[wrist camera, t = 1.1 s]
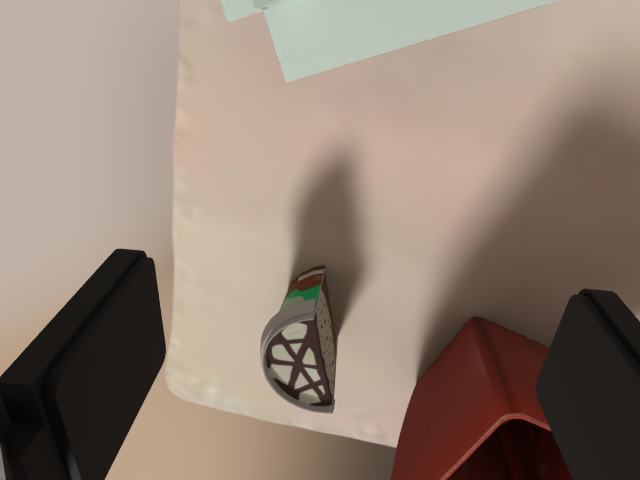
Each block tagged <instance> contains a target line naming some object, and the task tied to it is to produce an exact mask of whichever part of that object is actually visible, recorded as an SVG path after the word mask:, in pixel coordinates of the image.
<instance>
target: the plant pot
mask: <svg viewBox="0 0 640 480" xmlns="http://www.w3.org/2000/svg"><path fill="white" fill-rule="evenodd" d="M549 349H550V348H548V347H545V346H543V345H541V344H539V343H537V342H535V341H532V340H530V339H528V338H526V337H523V336H521V335H519V334H517V333H515V332H512V331H510V330H508V329H506V328H503V327H501V326H499V325H497V324H495V323H492V322H490V321H488V320H486V319H483V318H480V317H475V318H472V319H470V320H469V321H468V322H467V323H466V325H465V326H464V327H463V328H462V329H461V331H460V332H459V333H458V334H457V335H456V337H455V338H454V339H453V340H452V342H451V343H450V344H449V345H448V346H447V348H446V349H445V350H444V351H443V353H442V354H441V355H440V356H439V357H438V359H437V360H436V361H435V362H434V364H433V365H432V366H431V367H430V368H429V370H428V371H427V372H426V373H425V375H424V376H423V377H422V378H421V379H420V381H419V382H418V383H417V384H416V386H415V388H414V391H413V393H412V396H411V399H410V402H409V405H408V408H407V411H406V414H405V418H404V421H403V425H402V428H401V432H400V436H399V440H398V445H397V449H396V454H395V459H394V464H393V470H392V475H391V480H573V478H572V476H571V474H570V472H569V469H568V467H567V465H566V463H565V460H564V458H563V456H562V454H561V451H560V449H559V447H558V445H557V442H556V440H555V438H554V435H553V433H552V431H551V429H550V426H549V424H548V422H547V420H546V417H545V415H544V413H543V411H542V408H541V406H540V404H539V402H538V399H537V396H536V389H535V387H536V382H537V379H538V376H539V374H540V371H541V369H542V366H543V364H544V361H545V359H546V356H547V354H548V351H549Z"/></svg>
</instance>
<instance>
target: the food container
mask: <svg viewBox="0 0 640 480" xmlns="http://www.w3.org/2000/svg"><path fill="white" fill-rule="evenodd" d="M337 341H338V334H337V329H336V323H335V317H334V312H333V306H332V300H331V294H330V289H329V283H328V277H327V272H326V266H321V267H315V268H312V269H310V270H308V271H306V272H303V273H302V274H300V275H299V276H298V277H297V278H296V279H295V280H294V281H293V282H292V284H291V286H290V288H289V290H288V292H287V294H286V296H285V299H284V301H283V304H282V306H281V308H280V311H279V312H278V313H277V314H276V315H275V316H274V317H273V318H272V319H271V320H270V321H269V323H268V324H267V325H266V327H265V329H264V331H263V334H262V338H261V365H262V369H263V372H264V375H265V377H266V380H267V381H268V383H269V384H270V386H271V387H272V388H273V390H274V391H275V392H276V393H277V394H278V395H279V396H281V397H282V398H283V399H285V400H286V401H288V402H289V403H291V404H293V405H295V406H297V407H299V408H302V409H305V410H308V411H312V412H318V413H330V414H333V410H334V404H335V399H334V389H335V373H336V357H337Z"/></svg>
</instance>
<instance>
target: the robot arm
mask: <svg viewBox="0 0 640 480" xmlns="http://www.w3.org/2000/svg"><path fill="white" fill-rule="evenodd" d="M165 354H166V345H165V337H164V330H163V323H162V315H161V308H160V301H159V293H158V286H157V279H156V271H155V264H154V261H153V259H152V258H148V257H147V255H146V254H145V252H144V251H140V250H129V249H116V250H115V251H114V252H113V253H112V254H111V255H110V256H109V257H108V258H107V259H106V260H105V262H104V263H103V264H102V265H101V266H100V267H99V268H98V269H97V270H96V271H95V273H94V274H93V275H92V276H91V277H90V278H89V279H88V280H87V281H86V283H85V284H84V285H83V286H82V287H81V288H80V289H79V290H78V291H77V293H76V294H75V295H74V296H73V297H72V298H71V299H70V300H69V302H67V304H66V305H65V306H64V307H63V308H62V309H61V310H60V311H59V312H58V314H57V315H56V316H55V317H54V318H53V319H52V320H51V321H50V322H49V323H48V325H47V326H46V327H45V328H44V329H43V330H42V331H41V332H40V333H39V335H38V336H37V337H36V338H35V339H34V340H33V341H32V342H31V343H30V345H29V346H28V347H27V348H26V349H25V350H24V351H23V352H22V353H21V355H20V356H19V357H18V358H17V359H16V360H15V361H14V362H13V363H12V364H11V366H10V367H9V368H8V369H7V370H6V371H5V372H4V373H3V374H2V375H1V377H0V480H105V478H106V476H107V473H108V471H109V469H110V468H111V465H112V464H113V462H114V460H115V458H116V456H117V454H118V452H119V450H120V448H121V446H122V444H123V442H124V440H125V438H126V436H127V434H128V432H129V430H130V428H131V426H132V424H133V422H134V420H135V418H136V416H137V414H138V412H139V410H140V408H141V406H142V404H143V402H144V400H145V398H146V396H147V394H148V392H149V390H150V388H151V386H152V384H153V382H154V380H155V378H156V377H157V374H158V373H159V370H160V369H161V367H162V364H163V362H164V359H165ZM535 389H536V396H537V399H538V402H539V404H540V406H541V408H542V411H543V413H544V415H545V417H546V420H547V422H548V424H549V426H550V429H551V431H552V433H553V435H554V438H555V440H556V442H557V445H558V447H559V449H560V451H561V454H562V456H563V458H564V460H565V463H566V465H567V467H568V469H569V472H570V474H571V476H572V478H573V480H640V321H639V320H638V319H637V318H636V317H635V316H634V314H633V313H632V312H631V311H630V310H629V308H628V307H627V306H626V305H625V304H624V303H623V301H622V300H621V299H620V298H619V297H618V296H617V294H615V293H614V292H612V291H605V290H593V289H583V290H581V291H580V292H579V293H578V295H573V296H572V297H571V298H570V300H569V302H568V304H567V307H566V309H565V312H564V314H563V317H562V319H561V322H560V324H559V327H558V329H557V332H556V334H555V337H554V339H553V342H552V344H551V347H550V349H549V351H548V354H547V356H546V359H545V361H544V364H543V366H542V369H541V371H540V374H539V376H538V379H537V382H536V387H535Z"/></svg>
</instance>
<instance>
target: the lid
mask: <svg viewBox="0 0 640 480" xmlns="http://www.w3.org/2000/svg"><path fill="white" fill-rule="evenodd" d="M220 1H221V4H222V7H223V10H224V13H225V15H226V18H227V21H228V22H231V21H235V20H238V19H241V18H244V17H247V16H250V15H252V14H255V13H258V12H261V11H263V12H264V15H265V18H266V21H267V24H268V27H269V30H270V34H271V37H272V40H273V43H274V46H275V49H276V52H277V56H278V59H279V62H280V65H281V68H282V71H283V75H284V78H285V81H286V83H287V82H290V81H293V80H297V79H300V78H303V77H306V76H310V75H313V74H316V73H320V72H323V71H326V70H330V69H333V68H336V67H339V66H343V65H346V64H349V63H353V62H356V61H359V60H363V59H366V58H369V57H372V56H376V55H379V54H382V53H386V52H389V51H392V50H396V49H399V48H402V47H405V46H409V45H412V44H415V43H419V42H422V41H425V40H429V39H432V38H435V37H438V36H442V35H445V34H448V33H452V32H455V31H458V30H462V29H465V28H468V27H471V26H475V25H478V24H481V23H485V22H488V21H491V20H495V19H498V18H501V17H504V16H508V15H511V14H514V13H518V12H521V11H524V10H528V9H531V8H534V7H537V6H541V5H544V4H547V3H551V2H554V1H557V0H220Z"/></svg>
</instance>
